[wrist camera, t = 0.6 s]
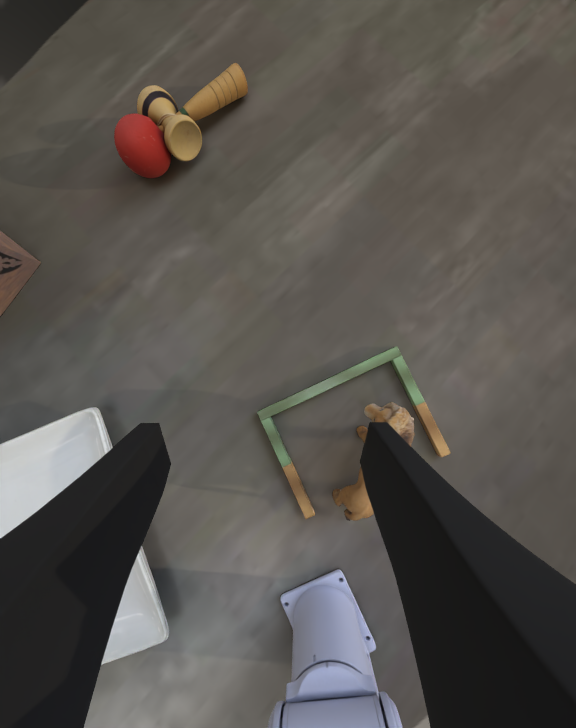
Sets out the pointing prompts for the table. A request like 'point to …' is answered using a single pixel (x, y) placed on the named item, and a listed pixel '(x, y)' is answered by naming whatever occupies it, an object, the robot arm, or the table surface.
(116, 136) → the kendama
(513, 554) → the robot arm
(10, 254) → the tissue box cover
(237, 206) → the table surface
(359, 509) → the lion figurine
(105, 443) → the square plate
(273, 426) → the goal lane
